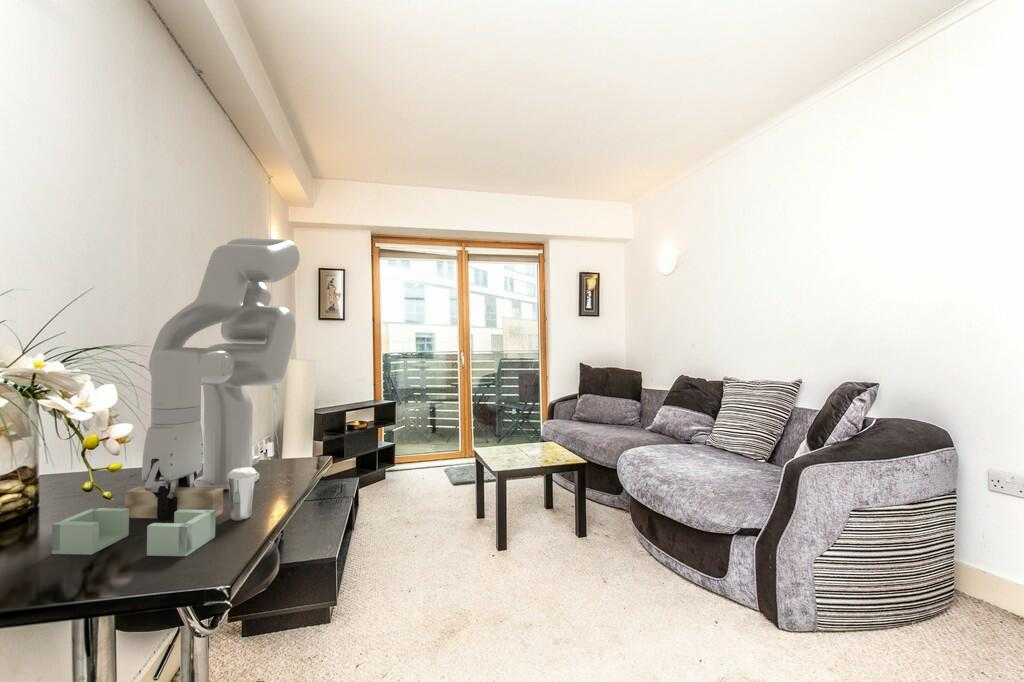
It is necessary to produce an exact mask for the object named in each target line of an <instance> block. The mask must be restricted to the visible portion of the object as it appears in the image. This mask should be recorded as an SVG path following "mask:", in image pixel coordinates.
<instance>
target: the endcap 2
mask: <svg viewBox="0 0 1024 682" xmlns="http://www.w3.org/2000/svg"><path fill="white" fill-rule="evenodd" d="M214 538H216V518H215V510H184V509H179V510H177V511H175V512H174V519H173V523H172V522H169V523H168V522H164V523H163V522H152V523H150V524H149V525H147V526H146V556H149V557H151V556H154V557H155V556H156V557H188V556H189V555H191V554H192V553H194V552H195V551H196V550H198V549H200V548H201V547H203V546H204V545H205V544H207V543H208V542H210V541H211V540H213V539H214Z"/></svg>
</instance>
